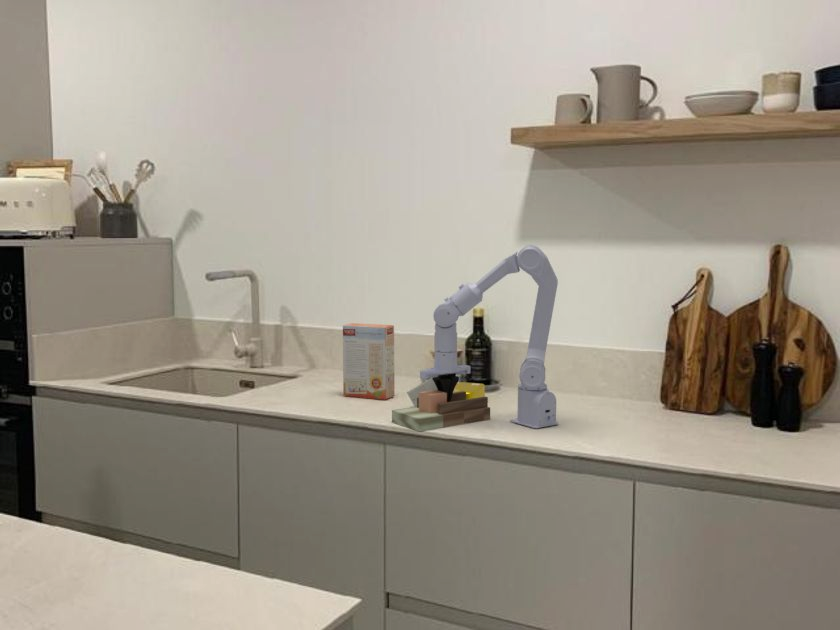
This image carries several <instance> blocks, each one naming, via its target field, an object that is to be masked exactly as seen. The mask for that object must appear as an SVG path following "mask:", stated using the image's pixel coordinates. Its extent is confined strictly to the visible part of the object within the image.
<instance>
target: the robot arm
mask: <svg viewBox="0 0 840 630" xmlns="http://www.w3.org/2000/svg"><path fill="white" fill-rule="evenodd" d="M521 270H522V271H524V272H525V273H526V274H528V275H529V276H530V277H531V278H532V280H533V281H534V282H535V283H536V285H537V286H538V289H537V293H536V294H537V295H536V300H535V305H534V311H533V312H534V313H533V318H532V323H531V328H530V329H531V330H530V333H529V340H528V346H527V352H526V358H525V359H524V361H523V362H522V364H521V366H520V369H519V370H520V371H519V377H518V378H519V381H520V383H519V384H518V385H517V416H516V418H512V419H511V418H510V419H509V422H511V423H515V424H517V425H522V426H525V427H529V428H532V429H539V428H545V427H550V426H556V425H559V422H558V421H557V397H556V395H555V394H554V393H553V392H552V391H550V390H549V389H548V385H547V384H546V383H545V381H546V368H545V367H546V366H545V361H546V360H545V359H546V352H547V345H548V340H549V337H550V330H551V324H552V318H553V312H554V306H555V301H556V295H557V289H558V284H559V281H558V278H557V275H556V272H555V271H554V268H553V267H552V264H551V262H550V261H549V258H548V256H547V255H546V254H545V253H544V252H543V251H542V250H541V249H540V247H538V246H537V245H533V244H529V245H528V244H527V245H525V246H524V247H522V248H521V249H520V250H519V251H516V252H514V253H512V254H511V255H508V256H507V257H505V258H504V259H502V260H501V261H500V262H499V263H498V264H497V265H495V266H494V267H493V268H492V269H491V270H490V271H488V272H487V273H486V274H485V275H484V276H482V277H481V278H480V279H479V280H478V281H477V282H475V283H472V282H467V283H465V284H464V283H462V284H461V285H460V286H458V290H456V291H455V293H453V294H452V295H451V296H449V297H448V296H447V297H445V298H444V303H441V304H439V305H438V306H437V307H435V310H434V311H433V315H432V316H433V320H434V322H435V325H434V330H435V331H434V348H433V349H434V351H433V352H434V356H433V357H434V366H433V367H430V368H426V369H423V370H420V371H419V378H420V379H423V380H429V379H431V378H432V379H433V381H434V383H435V385H436V387H437V389H438V391H441V392H445V393H447V402H450V401H451V397H452V394H453V391H454V388H455V386H456V384H457V383H458V382H460V376H457V375H463V374H467V375H468V374H471V365H467V364H464V365H463V364H462V365H461V364H460V365H458V332H457V322H458V319H459V317H464V316H465V315H466V314H467V313H469V312H470V311H471V310H472V309H474V308H475V307H477V305H479V304H480V303H481V302H482V301H483V299H484V298H483V297H484V296H483V295H484V293H485V292H487V291H488V290H489V289H490V288H492V287H493V286H495V285H496V284H497V283H498V282H500V280H502V279H503V278H505V277H506V276H507V275H510V274H517V273H520V271H521Z"/></svg>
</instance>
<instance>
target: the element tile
mask: <svg viewBox="0 0 840 630" xmlns="http://www.w3.org/2000/svg"><path fill="white" fill-rule="evenodd" d="M460 391H465V392H466V399H472V398H479V397H486V395H485V393H486V386H485V384H484V383H479V382H477V383H476V382H465V381H463V382H461V381H458V383H457V384H456V386H455V389H454V391H453V392H460Z"/></svg>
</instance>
